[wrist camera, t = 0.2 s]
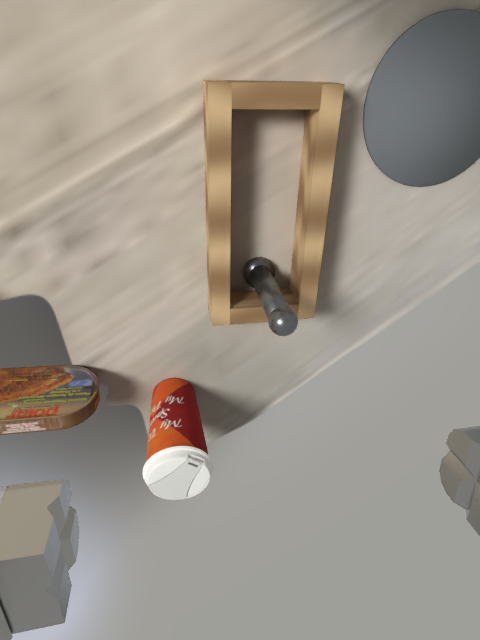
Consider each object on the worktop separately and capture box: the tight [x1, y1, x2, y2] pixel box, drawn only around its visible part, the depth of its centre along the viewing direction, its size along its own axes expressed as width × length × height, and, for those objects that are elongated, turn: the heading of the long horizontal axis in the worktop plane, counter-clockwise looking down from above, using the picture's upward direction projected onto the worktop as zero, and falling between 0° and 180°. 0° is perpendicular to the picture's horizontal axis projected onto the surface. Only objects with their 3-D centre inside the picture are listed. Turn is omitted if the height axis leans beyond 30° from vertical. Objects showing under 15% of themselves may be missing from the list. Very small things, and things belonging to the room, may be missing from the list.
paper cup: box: [143, 378, 213, 500], centre depth 51 cm, size 8×8×14 cm
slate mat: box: [363, 9, 480, 186], centre depth 43 cm, size 16×16×1 cm
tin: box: [0, 365, 100, 435], centre depth 48 cm, size 15×3×8 cm, turn 86°
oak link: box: [203, 80, 344, 326], centre depth 44 cm, size 24×12×4 cm, turn 179°
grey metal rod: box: [243, 257, 298, 336], centre depth 44 cm, size 4×4×13 cm
